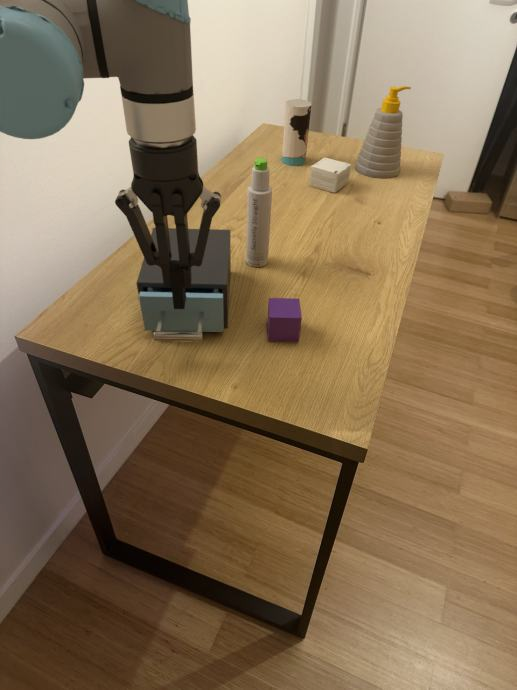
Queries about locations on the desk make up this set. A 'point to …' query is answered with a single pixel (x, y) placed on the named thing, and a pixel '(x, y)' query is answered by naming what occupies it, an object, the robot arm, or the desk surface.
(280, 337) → the purple cube
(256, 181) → the bottle
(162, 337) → the drawer
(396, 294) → the desk surface
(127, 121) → the robot arm
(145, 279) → the grey square box housing
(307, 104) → the cup
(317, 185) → the small box
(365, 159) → the soap bottle
